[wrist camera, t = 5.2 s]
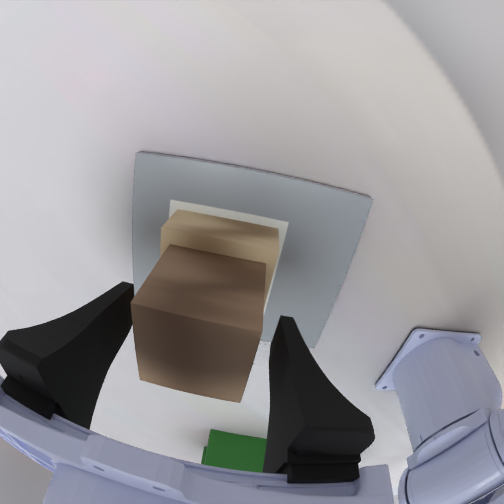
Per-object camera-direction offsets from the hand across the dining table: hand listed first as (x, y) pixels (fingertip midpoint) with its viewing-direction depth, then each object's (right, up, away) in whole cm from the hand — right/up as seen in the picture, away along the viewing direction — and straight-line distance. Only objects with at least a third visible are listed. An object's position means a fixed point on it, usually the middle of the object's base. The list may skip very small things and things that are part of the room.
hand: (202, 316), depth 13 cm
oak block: (0, +2, +5) cm, 5 cm away
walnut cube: (0, +1, +2) cm, 2 cm away
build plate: (+1, +2, +5) cm, 6 cm away
